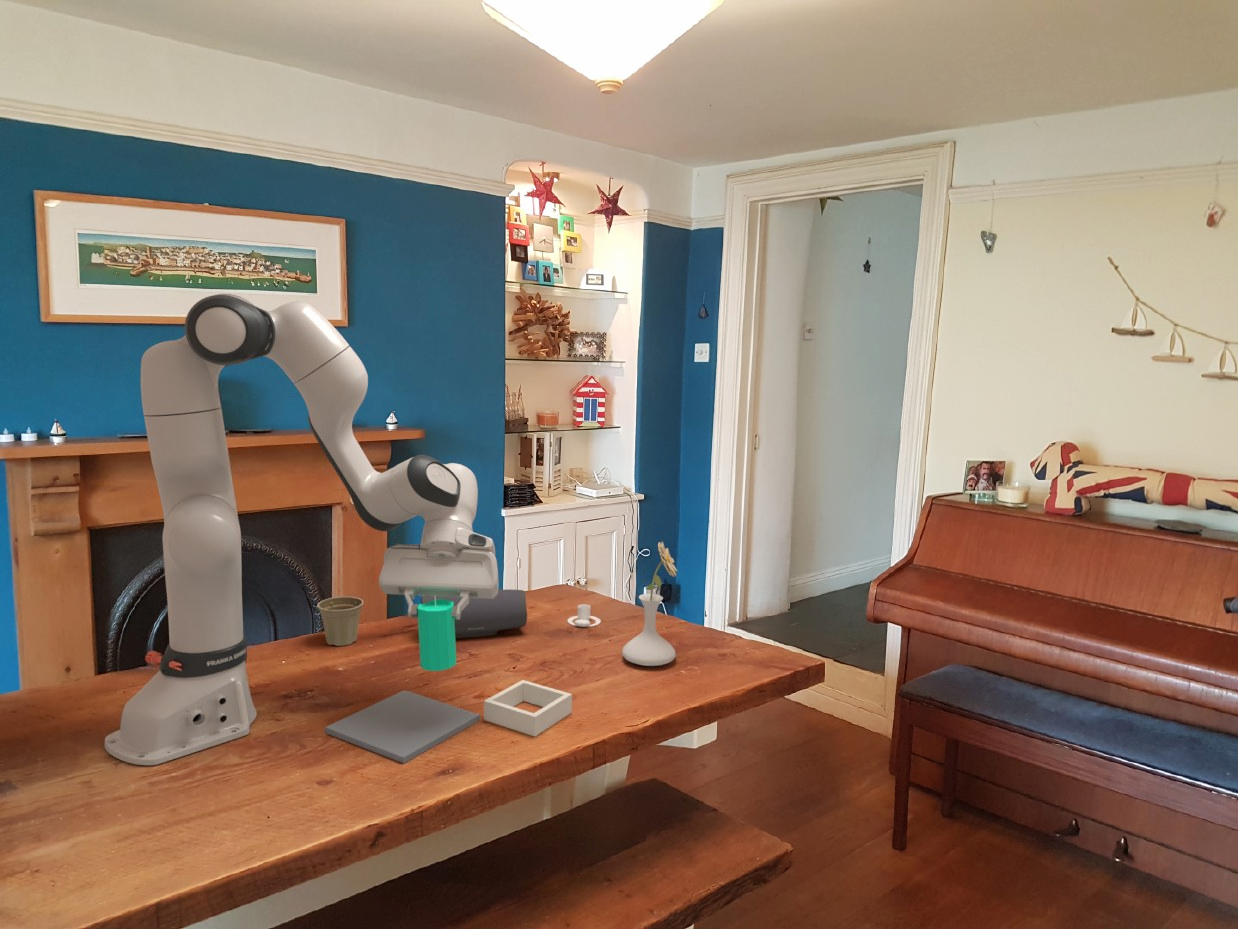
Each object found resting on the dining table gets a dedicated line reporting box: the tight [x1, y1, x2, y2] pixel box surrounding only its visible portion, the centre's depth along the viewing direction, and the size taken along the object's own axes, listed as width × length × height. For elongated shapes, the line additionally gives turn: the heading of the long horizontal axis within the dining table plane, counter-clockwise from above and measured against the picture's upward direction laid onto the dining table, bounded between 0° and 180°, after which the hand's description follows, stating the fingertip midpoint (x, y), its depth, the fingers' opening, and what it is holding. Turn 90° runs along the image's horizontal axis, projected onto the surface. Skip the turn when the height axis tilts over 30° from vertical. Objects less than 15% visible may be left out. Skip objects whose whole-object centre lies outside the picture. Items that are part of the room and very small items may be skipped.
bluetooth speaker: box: [420, 589, 528, 639], centre depth 183 cm, size 23×9×10 cm, turn 108°
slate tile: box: [324, 689, 481, 764], centre depth 139 cm, size 18×18×1 cm
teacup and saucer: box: [566, 603, 602, 628], centre depth 194 cm, size 9×8×4 cm
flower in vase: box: [621, 541, 678, 667], centre depth 171 cm, size 13×11×25 cm
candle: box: [417, 596, 457, 672], centre depth 138 cm, size 6×6×12 cm
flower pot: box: [317, 596, 364, 647], centre depth 176 cm, size 9×9×9 cm
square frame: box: [483, 679, 573, 737], centre depth 144 cm, size 11×11×4 cm
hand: (433, 617), depth 137 cm, fingers closed on candle, 6 cm apart
